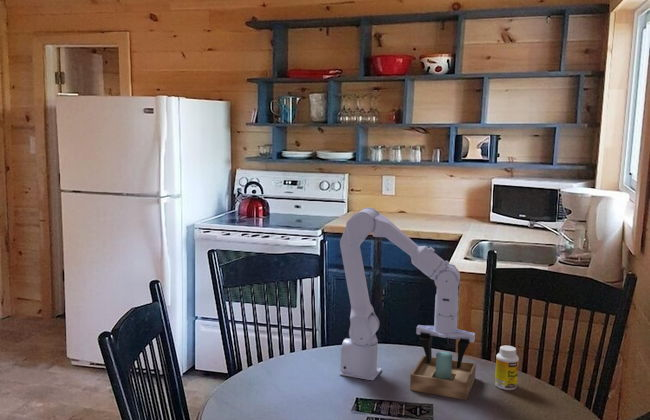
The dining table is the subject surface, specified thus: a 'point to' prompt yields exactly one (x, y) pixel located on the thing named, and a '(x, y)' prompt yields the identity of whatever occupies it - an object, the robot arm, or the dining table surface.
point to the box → (455, 388)
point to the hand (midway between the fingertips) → (443, 364)
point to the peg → (443, 365)
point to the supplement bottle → (506, 368)
